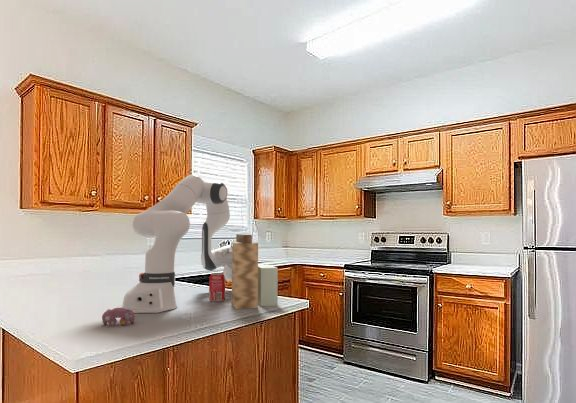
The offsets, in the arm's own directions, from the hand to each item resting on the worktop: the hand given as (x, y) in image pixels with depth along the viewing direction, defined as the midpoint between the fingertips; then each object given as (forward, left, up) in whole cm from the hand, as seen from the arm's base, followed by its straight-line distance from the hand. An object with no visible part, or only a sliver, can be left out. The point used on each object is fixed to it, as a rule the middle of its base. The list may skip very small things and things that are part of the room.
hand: (237, 249), depth 186 cm
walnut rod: (0, -18, +4) cm, 18 cm away
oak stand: (0, -22, -22) cm, 31 cm away
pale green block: (+10, -17, -22) cm, 30 cm away
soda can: (-10, -8, -22) cm, 26 cm away
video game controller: (-45, -46, -22) cm, 68 cm away
